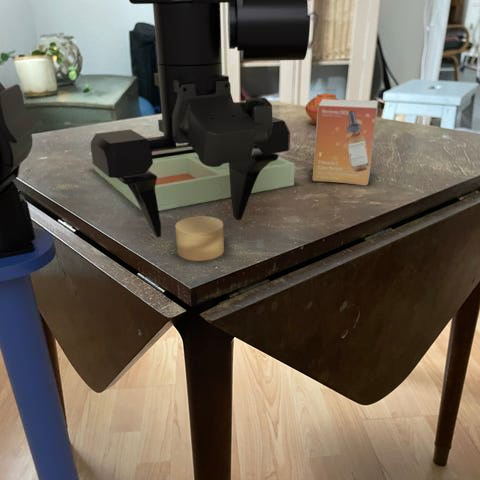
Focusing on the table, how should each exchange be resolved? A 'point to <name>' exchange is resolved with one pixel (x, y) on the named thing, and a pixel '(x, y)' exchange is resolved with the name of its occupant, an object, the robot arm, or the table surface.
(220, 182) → the grid
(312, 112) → the pot
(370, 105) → the small box
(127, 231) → the table surface
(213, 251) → the cylinder
